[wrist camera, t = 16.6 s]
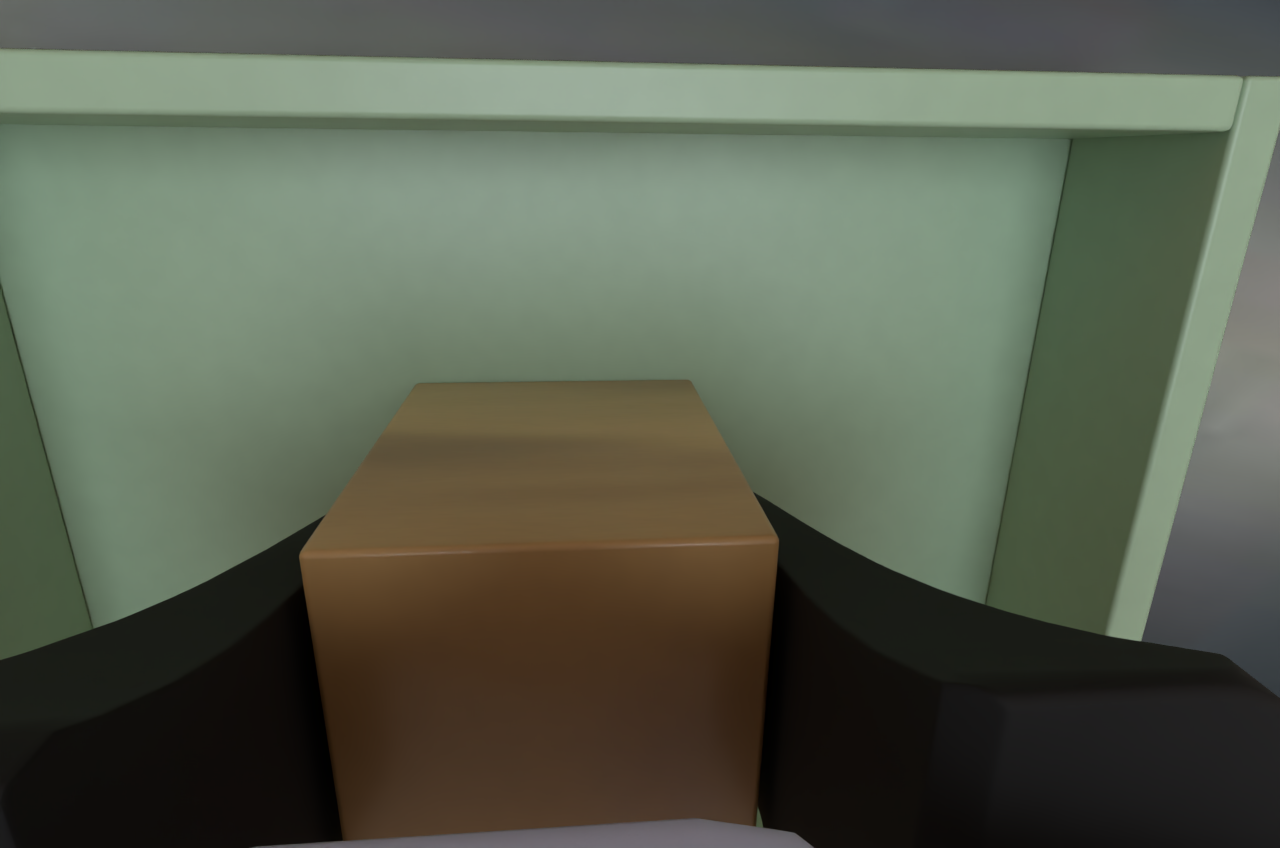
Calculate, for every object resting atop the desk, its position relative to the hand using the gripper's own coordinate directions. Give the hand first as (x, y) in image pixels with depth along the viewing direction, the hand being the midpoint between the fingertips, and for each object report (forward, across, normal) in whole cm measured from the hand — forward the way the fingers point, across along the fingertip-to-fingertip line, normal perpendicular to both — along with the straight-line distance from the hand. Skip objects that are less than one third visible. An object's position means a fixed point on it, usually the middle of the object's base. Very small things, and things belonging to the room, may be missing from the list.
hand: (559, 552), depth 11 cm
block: (+2, 0, 0) cm, 2 cm away
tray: (+2, 0, 0) cm, 2 cm away
